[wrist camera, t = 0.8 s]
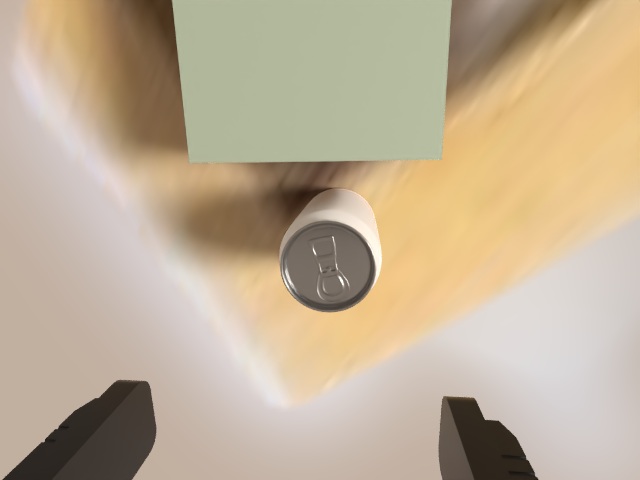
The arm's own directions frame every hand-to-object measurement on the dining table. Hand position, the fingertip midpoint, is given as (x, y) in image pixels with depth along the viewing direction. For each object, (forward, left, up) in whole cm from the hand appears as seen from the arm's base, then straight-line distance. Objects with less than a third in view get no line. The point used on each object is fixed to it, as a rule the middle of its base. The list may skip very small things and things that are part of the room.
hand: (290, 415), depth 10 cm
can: (0, 0, -24) cm, 24 cm away
